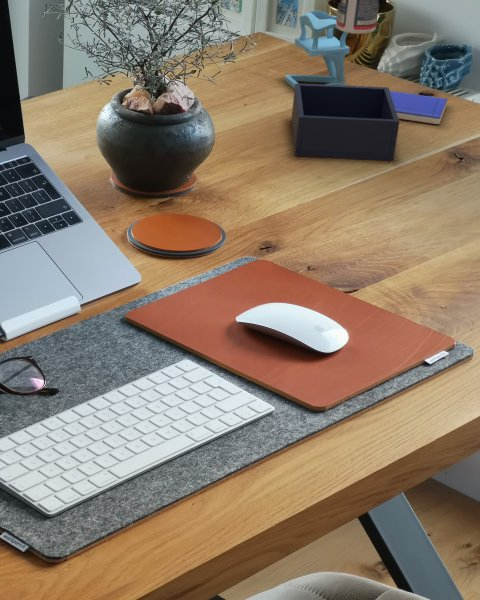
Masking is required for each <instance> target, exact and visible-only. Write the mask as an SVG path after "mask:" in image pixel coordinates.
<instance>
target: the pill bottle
mask: <svg viewBox="0 0 480 600" xmlns="http://www.w3.org/2000/svg"><path fill="white" fill-rule="evenodd" d="M379 1H380V0H340V3H338V6H337V15H336V16H337V18H336V21H337V24H336V26H337V28H338V29H337V28H336V29H337V30H339V31H341V32H343V33H344V32H347V33H348V34H354V35H365V34H370V33H372V32H375V30H376V28H377V23H378V17H379V16H378V15H379V9H380V8H379V7H380V3H379Z"/></svg>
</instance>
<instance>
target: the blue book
mask: <svg viewBox="0 0 480 600" xmlns="http://www.w3.org/2000/svg"><path fill="white" fill-rule="evenodd" d="M389 91H390V94H391V97H392V100H393V103H394V106H395V110H396V113H397V116H398V119H399V120H405V121H412V122H419V123H427V124H434V125H440V123H441V121H442V118H443V116H444V113H445V111H446V109H447V104H448V98H445V97H444V98H443V97H436V96H430V95H429V96H428V95H420V94H415V93H407V92H401V91H394V90H389Z"/></svg>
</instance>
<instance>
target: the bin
mask: <svg viewBox="0 0 480 600" xmlns="http://www.w3.org/2000/svg"><path fill="white" fill-rule="evenodd" d="M293 90H294V91H293V100H292V101H293V102H292V111H291V129H292V141H293V142H292V143H293V150H294V157H308V158H326V159H327V158H329V159H344V160H345V159H347V160H364V161H365V160H366V161H384V162H385V161H387V162H388V161H390V162H394V159H395V153H396V145H397V140H398V133H399V127H400V119H398V116H397V113H396V110H395V106H394V103H393V100H392V97H391V94H390V91H391V90H390V88H389V87H387V86H384V87H383V86H362V85H345V86H342V85H324V84H317V83H316V84H315V83H298V84H295V89H293Z"/></svg>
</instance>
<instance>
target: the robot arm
mask: <svg viewBox="0 0 480 600" xmlns="http://www.w3.org/2000/svg"><path fill="white" fill-rule="evenodd" d="M333 3H334V4H336V5H339V3H340V0H333ZM379 5H381V6H386V5H387V0H380V1H379Z"/></svg>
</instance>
